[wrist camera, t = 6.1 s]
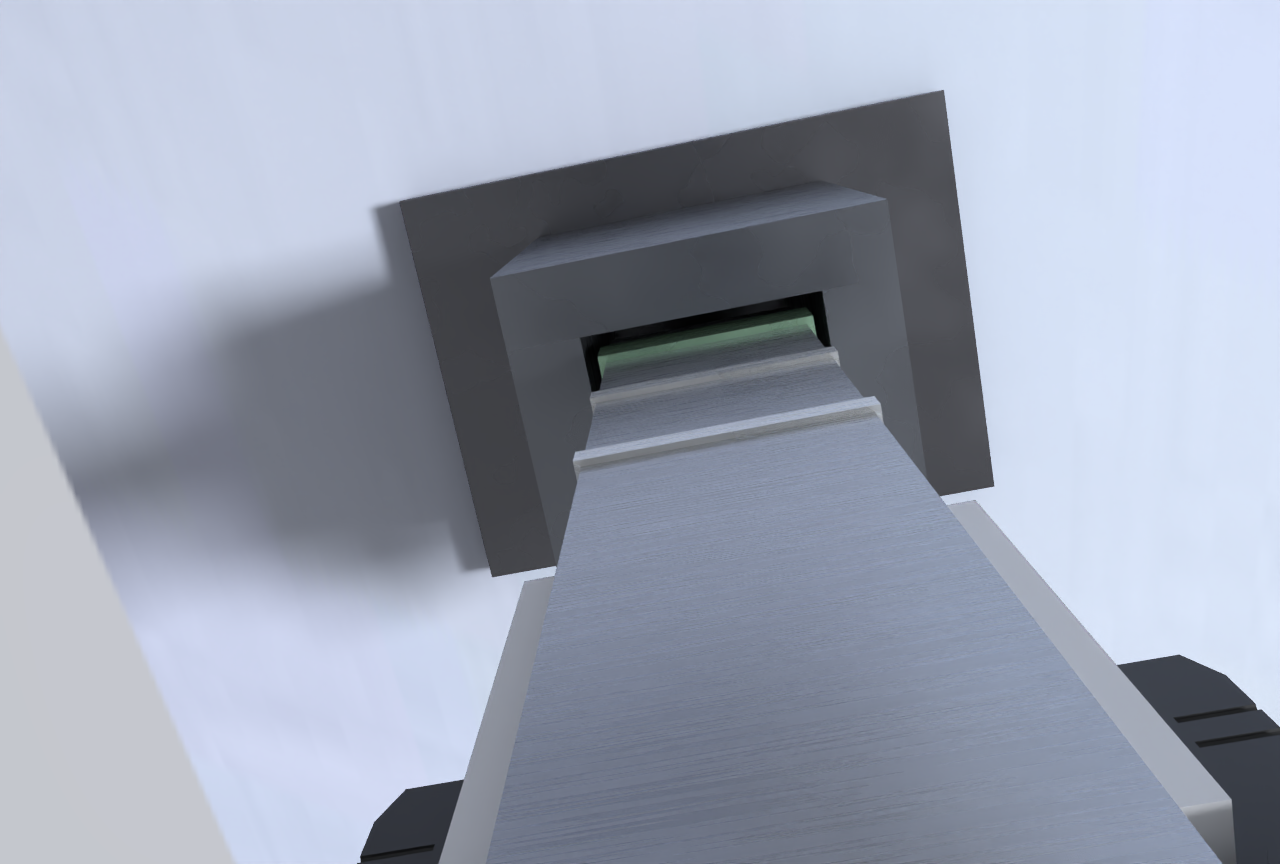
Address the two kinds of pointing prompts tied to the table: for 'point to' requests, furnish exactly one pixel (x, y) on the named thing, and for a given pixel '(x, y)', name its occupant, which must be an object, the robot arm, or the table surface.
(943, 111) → the stand
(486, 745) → the robot arm
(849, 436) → the column
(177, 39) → the table surface
